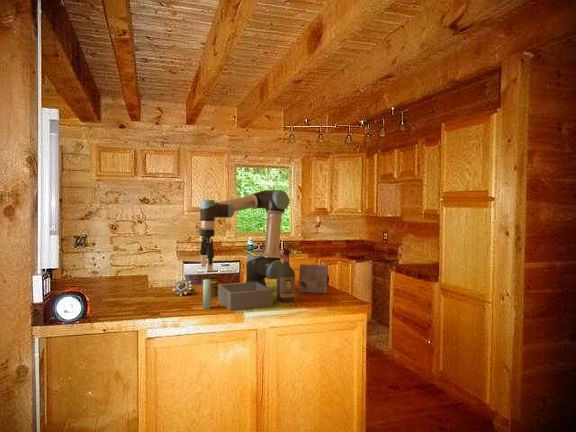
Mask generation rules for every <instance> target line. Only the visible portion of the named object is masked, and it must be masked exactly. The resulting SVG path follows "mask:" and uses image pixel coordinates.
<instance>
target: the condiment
mask: <svg viewBox="0 0 576 432" xmlns="http://www.w3.org/2000/svg"><path fill="white" fill-rule="evenodd" d="M208 279H210V280H211V299H213V298H218V285H219V281H218V276H217V275H210V276H208Z"/></svg>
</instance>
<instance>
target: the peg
mask: <svg viewBox="0 0 576 432" xmlns="http://www.w3.org/2000/svg"><path fill="white" fill-rule="evenodd" d="M211 299H212V298H211V280H210V279H209V278H206V279H205V278H204V279H203V280H202V309H203V310H208V309H211Z"/></svg>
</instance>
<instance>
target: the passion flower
mask: <svg viewBox="0 0 576 432" xmlns="http://www.w3.org/2000/svg"><path fill="white" fill-rule="evenodd" d="M191 283H192V280H188V281H187V280H186V278H184V277H183V279H181V280H178V281H176V283H175V286H174V288H172V289H171V291H172V292H175V291H176V295H177V296H178V295H179V297H182V296H183V295H187V293H188V291H190V293H191V295H193V296H194V295H195V293H196V290H195V286H194V283H192V284H191Z"/></svg>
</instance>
